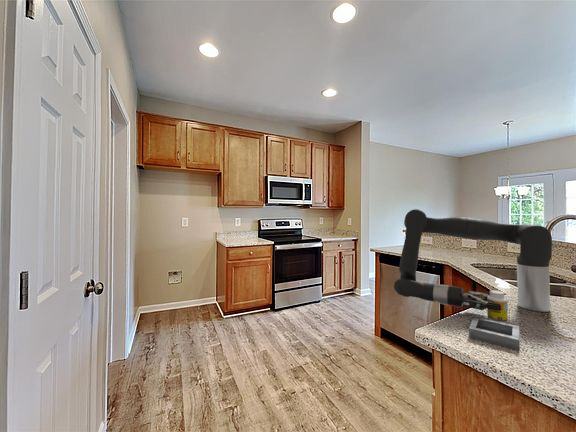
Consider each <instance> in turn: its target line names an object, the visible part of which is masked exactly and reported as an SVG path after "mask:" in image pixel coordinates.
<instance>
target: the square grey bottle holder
mask: <svg viewBox="0 0 576 432" xmlns="http://www.w3.org/2000/svg"><path fill="white" fill-rule="evenodd" d="M468 338H469V339H472V340H475V341H480V342H482V343H488V344H491V345H496V346H499V347H503V348H507V349H511V350H515V351H518V352H519V351H520V350H521V349H520V326H519V325H516V324H510V323H507V322H506V323H501V322H497V321H492V320H489V319H488V318H482V317H477V316H473V318H472V320H471V322H470V325H469V327H468Z"/></svg>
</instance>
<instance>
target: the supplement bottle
mask: <svg viewBox="0 0 576 432" xmlns="http://www.w3.org/2000/svg"><path fill="white" fill-rule="evenodd" d="M488 295H489V296H487V302H491V303H497V304H500V305H501V311H497V310H492V309H486V310H487V311H486V313H487V314H486V315H487V316H486V317H487V320H492V321H497V322H501V323H506V324H507V323H508V320H509V319H508V316H509V315H508V313H509V311H508V299H507V298H506V297H505V292H503V291H501V290H494V289H493V290H489V294H488Z"/></svg>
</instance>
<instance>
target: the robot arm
mask: <svg viewBox="0 0 576 432" xmlns="http://www.w3.org/2000/svg"><path fill="white" fill-rule="evenodd" d="M403 224H404V227H405V235H404V236H405V237H404V242H403V247H402V251H401V254H400V261H399V268H398V270H399V273H400V278H399V279H397V280H395V282H394V283H393V288H394V290H395V292H396V294H398V295H400V296H401V297H402V296H403V297H405V298H411V297H412V298H417V299H418V298H419V299H421V300H423V301H428V302H433V303H438V304H440V305H445V306H452V307H456V308H463V307H465V308H471V309H475V310H479V311H485V310H487V309H492V310H497V311H501V305H500V304H497V303H491V302H487V296H489V295H490V294H488V293H486V292H479V291H473V290H472V291H471V290H468V292H464V288H462V287H461V286H460V287H459V286H453V285H447V284H436V283H430V282H429V283H428V282H421V281H417V269H418V262H419V253H420V246H421V245H420V244H421V238H422V234H423V233H428V234H436V235H437V234H438V235H444V236H449V237H453V238H454V237H455V238H461V239H468V240H475V241H476V240H478V241H500V242H501V241H502V242H507V243H512V244H516V245H519V246H520V252H519V255H517V257H516V267H517V268H516V270H517V271H516V274H517V277H516V278H517V282H516V283H517V306H518V307H519V308H522V309H525V310H528V311H529V310H530V311H533V312H534V311H535V312H541V313H542V312H543V313H546V312H550V311H551V293H550V292H551V291H550V289H551V288H550V287H551V286H550V262H551V259H552V256H553V254H552V253H553V238H552V237H553V236H552V233H551V232H550V230H549V229H548V228H547V227H545V226H542V225H540V224H539V225H538V224H529V223H527V224H525V223H524V224H515V223H514V224H513V223H501V222H500V223H499V222H494V221H491V220H486V219H482V218H481V219H480V218H476V217H466V216H465V217H464V216H453V217H451V216H450V217H444V218H442V217H441V218H435V217H429V216H427V214H426V213H425V212H424V211H423V210H421V209H418V208H417V209H416V208H415V209H411V210H409V211H408V212H407V213H406V215H405V217H404V223H403Z"/></svg>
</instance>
